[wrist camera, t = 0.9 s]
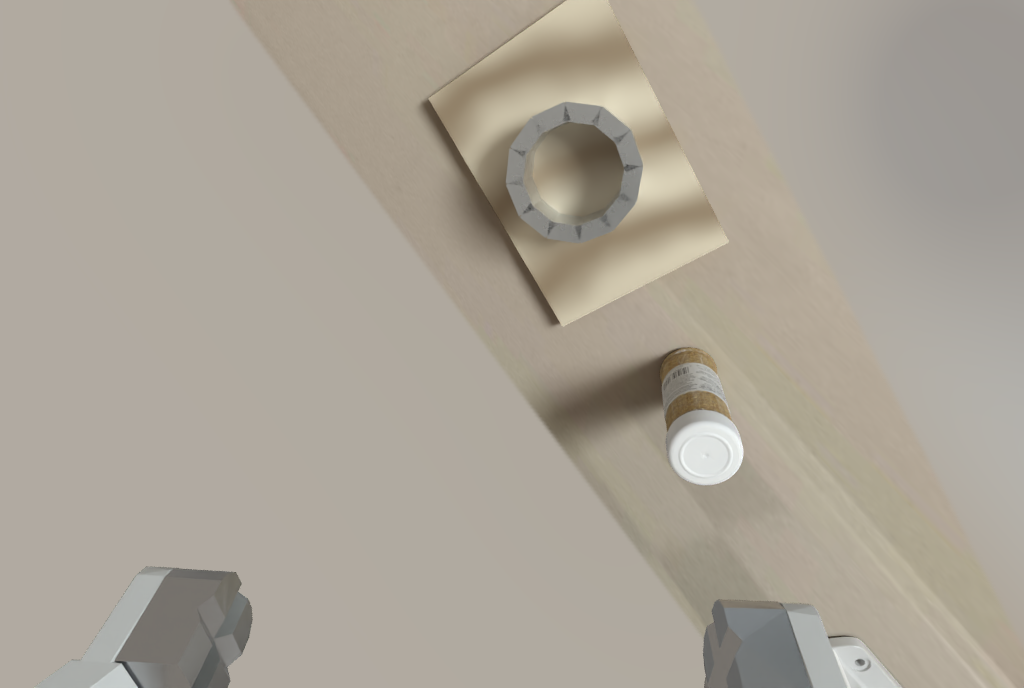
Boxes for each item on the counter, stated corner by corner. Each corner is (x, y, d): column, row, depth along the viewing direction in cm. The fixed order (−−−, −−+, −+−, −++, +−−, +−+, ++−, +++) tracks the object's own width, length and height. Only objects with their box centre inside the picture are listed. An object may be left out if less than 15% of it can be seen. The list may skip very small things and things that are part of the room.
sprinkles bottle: (673, 404, 51) (685, 497, 39) (650, 358, 50) (654, 439, 38) (726, 383, 50) (756, 473, 38) (703, 335, 49) (726, 412, 36)
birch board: (726, 239, 46) (729, 242, 45) (564, 322, 51) (562, 326, 50) (597, -18, 42) (596, -22, 41) (433, 98, 46) (428, 98, 45)
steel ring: (667, 157, 44) (670, 162, 40) (586, 255, 47) (582, 267, 43) (568, 76, 43) (561, 73, 39) (493, 181, 46) (481, 187, 43)
